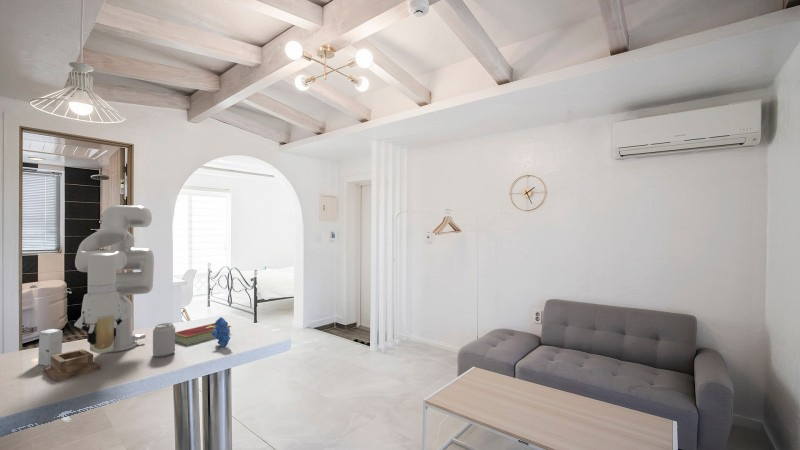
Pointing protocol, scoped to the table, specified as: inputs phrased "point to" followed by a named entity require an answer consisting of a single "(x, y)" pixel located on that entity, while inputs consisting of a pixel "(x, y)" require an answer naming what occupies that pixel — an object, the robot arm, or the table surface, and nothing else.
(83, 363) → the slotted stand
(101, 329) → the skincare box
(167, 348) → the can
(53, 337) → the skincare box
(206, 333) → the hardcover book
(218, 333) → the grapes
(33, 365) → the table surface
